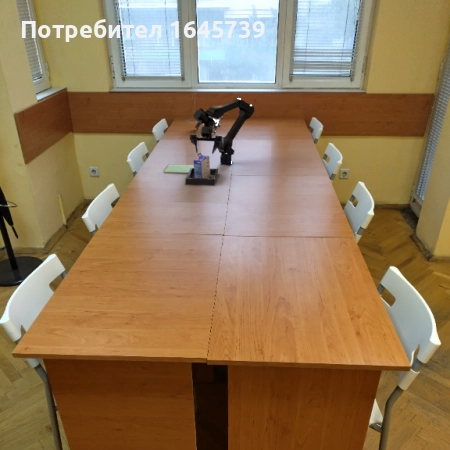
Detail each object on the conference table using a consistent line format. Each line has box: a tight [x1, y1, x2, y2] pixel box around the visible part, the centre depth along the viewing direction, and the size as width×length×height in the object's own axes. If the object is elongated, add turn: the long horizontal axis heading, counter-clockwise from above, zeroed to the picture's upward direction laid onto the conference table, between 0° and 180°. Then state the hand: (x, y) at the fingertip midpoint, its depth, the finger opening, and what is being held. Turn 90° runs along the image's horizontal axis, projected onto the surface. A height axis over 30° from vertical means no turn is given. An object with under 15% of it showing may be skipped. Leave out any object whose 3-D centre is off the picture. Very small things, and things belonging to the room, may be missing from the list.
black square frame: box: [185, 168, 219, 186], centre depth 254 cm, size 16×18×4 cm
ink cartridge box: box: [192, 152, 211, 179], centre depth 251 cm, size 10×6×14 cm, turn 155°
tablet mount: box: [194, 116, 224, 135], centre depth 346 cm, size 27×14×17 cm
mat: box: [163, 164, 194, 174], centre depth 270 cm, size 20×14×1 cm
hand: (204, 153), depth 255 cm, fingers open, 9 cm apart
